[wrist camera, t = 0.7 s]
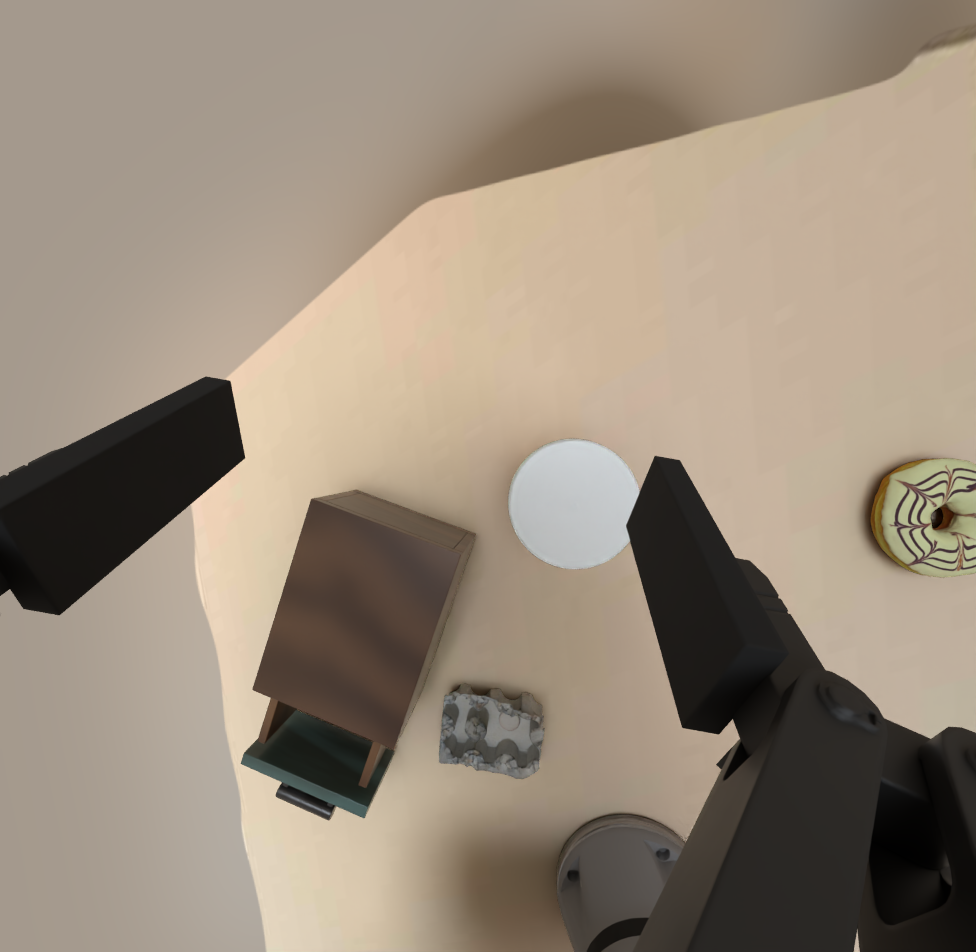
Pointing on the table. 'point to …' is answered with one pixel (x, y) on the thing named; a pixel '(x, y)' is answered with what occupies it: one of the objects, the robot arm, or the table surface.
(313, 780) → the drawer
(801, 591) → the table surface
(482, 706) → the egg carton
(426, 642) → the cabinet
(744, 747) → the robot arm
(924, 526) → the decorated donut
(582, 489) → the supplement tub
